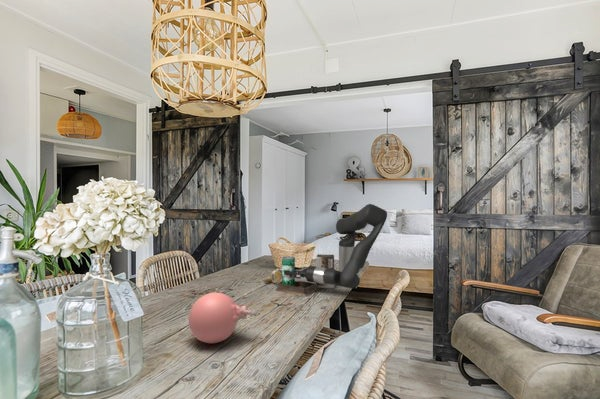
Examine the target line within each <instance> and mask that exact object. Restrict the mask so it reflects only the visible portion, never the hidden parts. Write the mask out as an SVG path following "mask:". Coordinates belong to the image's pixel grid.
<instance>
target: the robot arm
mask: <svg viewBox="0 0 600 399" xmlns="http://www.w3.org/2000/svg"><path fill="white" fill-rule="evenodd" d="M387 218H388V213H387V211H386V210H385V209H383V208H381V207H379V206H378V205H375V204H372V203H368V204H366V205H365V206H364V207H363V206H362V208H361V209H360V210H358V211H356V212H354V213H352V214H350V215H348V216H346V217H344V218H340V219H338V220H337V221H336V224H335V230H336V232H337V233H338V235H339V234H340V235H347V236H346V237H345V238H343V239H341V240H339V242H338V269H335V268H334V269H327V268H323V267H317V265H309V266H302V267H301V266H295V271H288V270H284V275H289V277H290V278H295V279H299V280H300V279H303V278H305V279H306V282H307V281H308V282H309V283H316V284H317V283H324V284H331V285H334V286H339V287H343V288H346V289H347V288H348V289H355V288H357V287H358V286H359V285H360V283H361V280H360V277H359V275H358V273H359V271H360V269H361V270H362V269H363V268H364V266H365V264H366V261H367V258H368V257H369V254H370V251H371V249H372V247H373V245H374V243H375V242H376V240H377V238H378V236H379V235H380V233H381V231H382V229H383V228H384V225H385V223H386V220H387ZM367 225H369V226H372V227H373V228H372V230H371V231H370V232H369V234H368V235H367V236H366V237H364V238H362V239H361V240H360V241H359V242H358V243H357V244H356V243H355V242H356V232H357V231H360V230H363V229H365V228H366V226H367Z"/></svg>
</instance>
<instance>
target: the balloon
mask: <svg viewBox="0 0 600 399" xmlns="http://www.w3.org/2000/svg"><path fill="white" fill-rule="evenodd" d="M252 314H253V312H252V310H250V309H249V308H248V306H247V305H243V306H239V305H238V304H237V303H235V302H234V300H233V299H232V298H231V297H230V296H229V295H226V294H225V293H222V292H210V293H206V294H204V295H202V296H200V297H199V298H198V299H197V300H195V302H194V303H193V305H192V306H191V309H190V311H189V314H188V327H189V329H190V331H191V333H192V335H193V336H194V337H195V338H196V339H197V340H199V341H200V342H202V343H205V344H217V343H221V342H224V341H225V340H227V338H229V337H230V336H231V335H232V334H233V333H234V331H235V330H236V327H237V326H238V325H237V324H238V322H239V321H240V320H245V319H246V318H247V316H249V315H250V316H251V315H252Z"/></svg>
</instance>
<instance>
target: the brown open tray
mask: <svg viewBox="0 0 600 399" xmlns="http://www.w3.org/2000/svg"><path fill="white" fill-rule="evenodd" d="M275 291H276V292H282V293H285V294H286V293H287V294H292V295H297V296H303V297H304V296H305V297H306V296H308V295H310V294H312V293H314V292H315V291H317V283H315V282H309V281H308V282H307V281H303V280H302V281H301V280H298V281H297V280H295V287H294V286H291V285H287V284H282V282H279V283H277V284H276V289H275Z"/></svg>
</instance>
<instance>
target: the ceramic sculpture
mask: <svg viewBox="0 0 600 399" xmlns="http://www.w3.org/2000/svg"><path fill="white" fill-rule="evenodd" d="M262 282H264V283H271V282H272V283H274V284H276V285H277V283H279V282H282V267H277V268H276V269H275V270H272V272H271V273H270V275H268V276H267V277H266V278H265V279H263V280H262Z"/></svg>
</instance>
